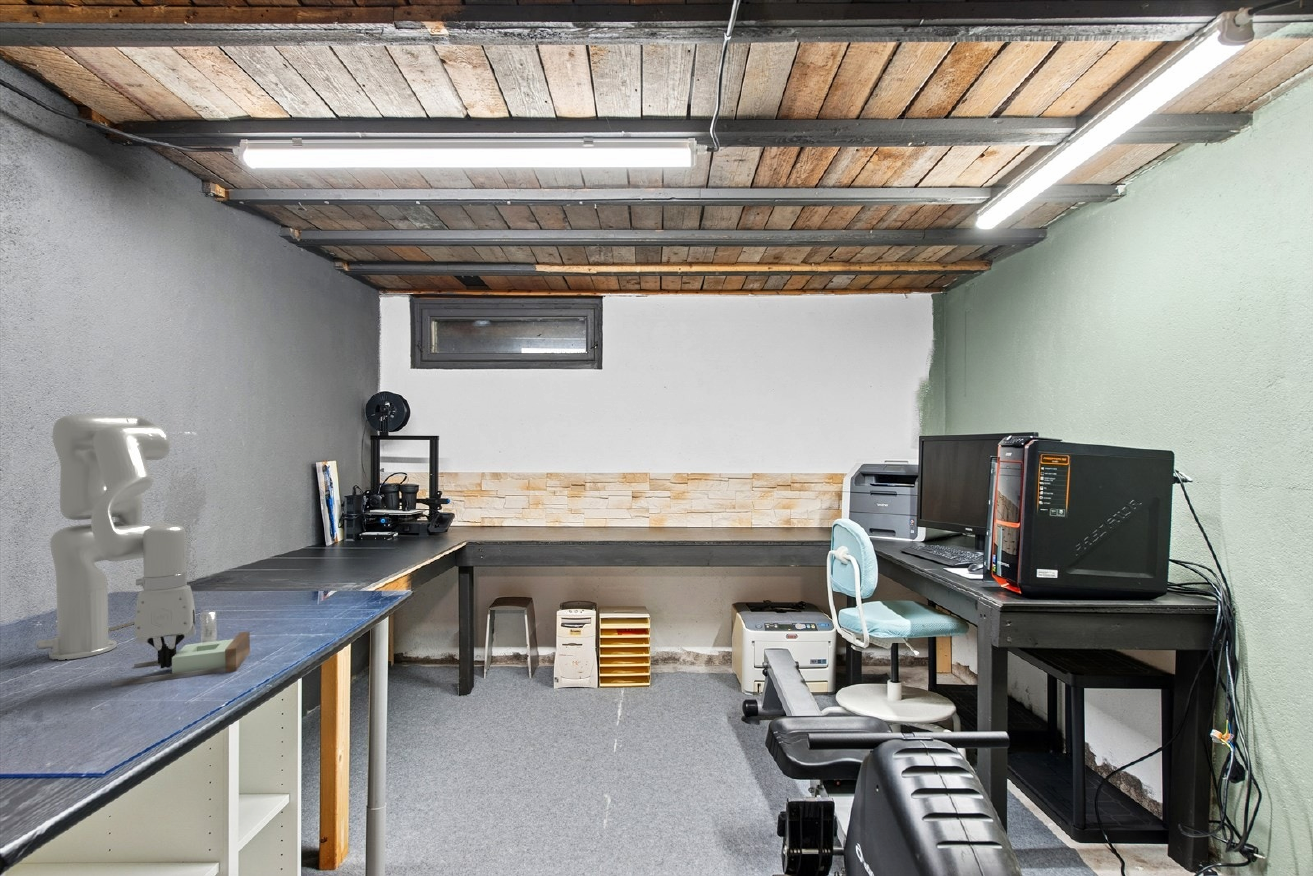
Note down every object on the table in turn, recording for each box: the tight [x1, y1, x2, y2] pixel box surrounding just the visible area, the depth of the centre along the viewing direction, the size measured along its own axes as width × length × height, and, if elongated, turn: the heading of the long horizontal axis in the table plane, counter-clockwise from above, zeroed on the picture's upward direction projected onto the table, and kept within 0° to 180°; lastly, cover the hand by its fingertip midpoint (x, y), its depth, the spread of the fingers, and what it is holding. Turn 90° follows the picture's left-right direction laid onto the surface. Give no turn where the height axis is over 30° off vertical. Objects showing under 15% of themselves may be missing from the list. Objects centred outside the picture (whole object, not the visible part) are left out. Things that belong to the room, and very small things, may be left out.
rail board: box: [111, 631, 251, 688], centre depth 143 cm, size 26×14×6 cm, turn 112°
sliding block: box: [171, 638, 235, 674], centre depth 145 cm, size 10×10×4 cm
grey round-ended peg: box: [199, 610, 218, 643], centre depth 158 cm, size 3×3×10 cm
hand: (167, 666), depth 142 cm, fingers closed
